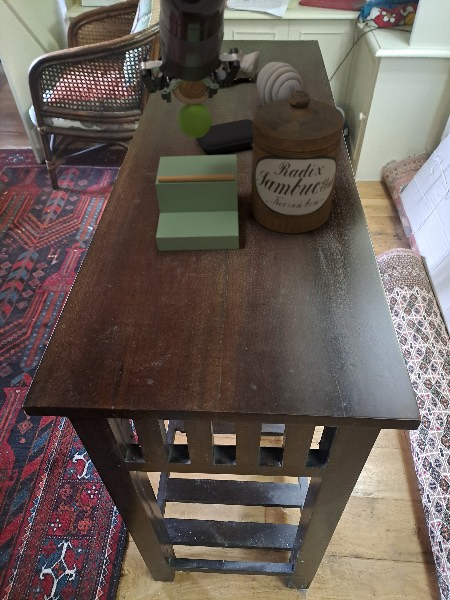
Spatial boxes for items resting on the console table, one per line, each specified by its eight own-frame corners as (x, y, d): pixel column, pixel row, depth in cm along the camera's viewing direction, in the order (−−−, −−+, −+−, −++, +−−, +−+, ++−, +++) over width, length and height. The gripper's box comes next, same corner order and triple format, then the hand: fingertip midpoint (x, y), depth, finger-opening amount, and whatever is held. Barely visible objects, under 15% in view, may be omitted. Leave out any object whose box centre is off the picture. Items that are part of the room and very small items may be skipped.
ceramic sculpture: (262, 51, 119) (205, 58, 119) (263, 85, 126) (209, 92, 126) (256, 38, 127) (203, 45, 127) (257, 71, 133) (206, 77, 133)
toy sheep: (276, 94, 122) (279, 49, 114) (316, 118, 112) (322, 70, 104) (243, 104, 119) (243, 58, 111) (281, 129, 108) (284, 81, 100)
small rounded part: (171, 131, 76) (162, 53, 67) (209, 126, 77) (205, 49, 68) (175, 146, 72) (165, 66, 64) (215, 142, 73) (210, 62, 64)
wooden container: (252, 235, 82) (254, 114, 66) (250, 188, 92) (251, 74, 76) (335, 233, 81) (358, 112, 65) (324, 187, 91) (341, 72, 75)
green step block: (158, 251, 80) (149, 202, 72) (166, 198, 90) (159, 151, 83) (238, 249, 79) (238, 200, 72) (237, 196, 90) (236, 149, 83)
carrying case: (207, 161, 100) (269, 148, 103) (206, 148, 97) (270, 135, 100) (193, 139, 106) (251, 127, 110) (192, 126, 104) (252, 115, 107)
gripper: (245, -3, 55) (230, 65, 72) (126, 7, 54) (138, 74, 71) (254, 59, 55) (237, 113, 72) (135, 71, 54) (146, 123, 71)
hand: (188, 94), depth 71 cm, fingers closed on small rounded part, 6 cm apart
